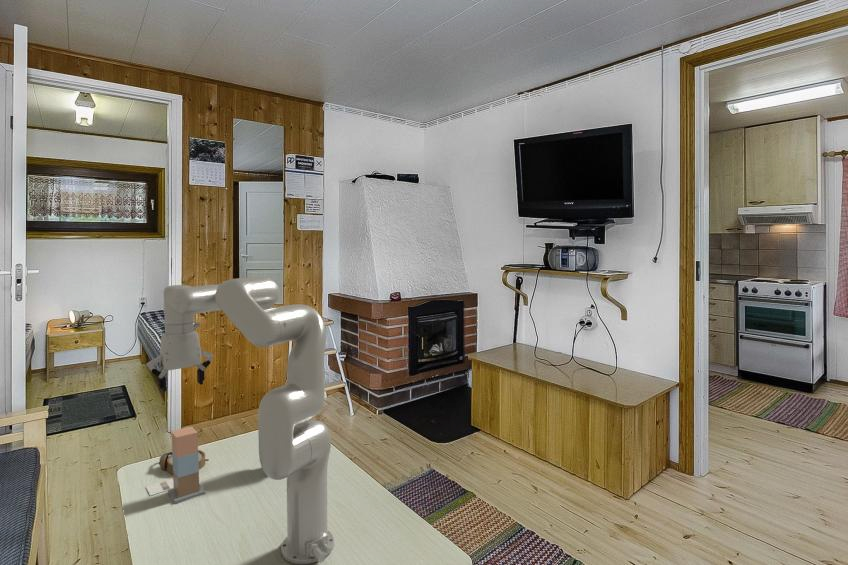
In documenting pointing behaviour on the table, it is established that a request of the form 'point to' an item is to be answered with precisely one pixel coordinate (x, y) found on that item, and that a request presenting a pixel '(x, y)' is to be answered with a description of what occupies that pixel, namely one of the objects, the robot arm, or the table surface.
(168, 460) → the alarm clock
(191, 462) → the blue block
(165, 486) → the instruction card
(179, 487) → the base
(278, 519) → the table surface
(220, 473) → the table surface
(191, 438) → the terracotta block
